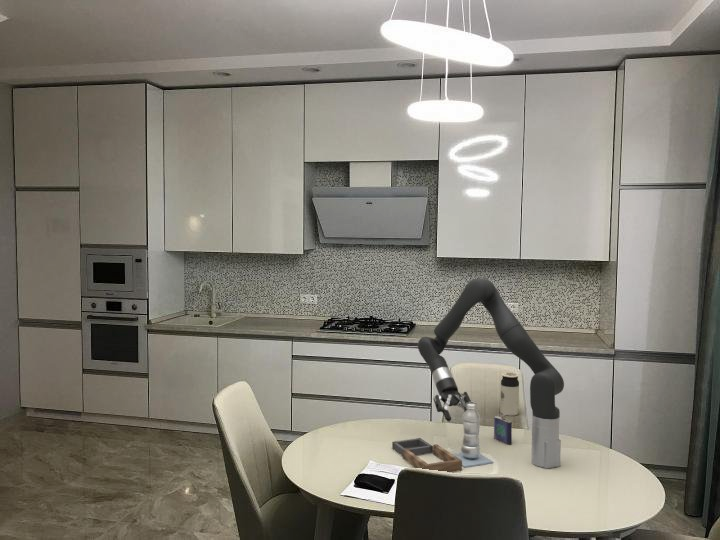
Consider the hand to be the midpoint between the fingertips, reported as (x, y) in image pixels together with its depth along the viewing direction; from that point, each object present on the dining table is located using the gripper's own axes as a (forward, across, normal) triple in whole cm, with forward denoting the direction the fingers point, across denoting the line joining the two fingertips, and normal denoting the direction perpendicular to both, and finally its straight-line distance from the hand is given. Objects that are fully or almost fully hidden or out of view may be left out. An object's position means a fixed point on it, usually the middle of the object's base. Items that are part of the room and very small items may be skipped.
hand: (459, 419), depth 226 cm
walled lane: (+13, -15, +5) cm, 20 cm away
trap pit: (+3, -15, +16) cm, 22 cm away
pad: (+14, 0, +4) cm, 15 cm away
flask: (+6, +23, +13) cm, 27 cm away
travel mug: (-15, +48, +34) cm, 61 cm away
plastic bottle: (+14, +1, +4) cm, 14 cm away
